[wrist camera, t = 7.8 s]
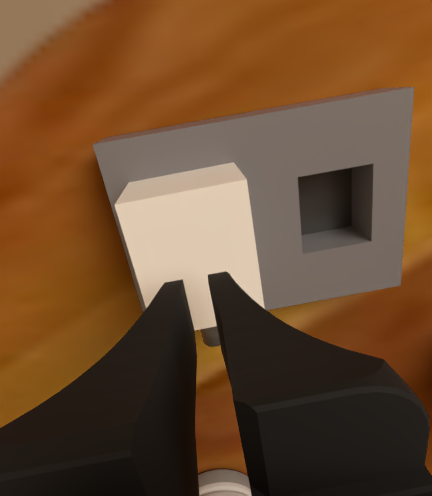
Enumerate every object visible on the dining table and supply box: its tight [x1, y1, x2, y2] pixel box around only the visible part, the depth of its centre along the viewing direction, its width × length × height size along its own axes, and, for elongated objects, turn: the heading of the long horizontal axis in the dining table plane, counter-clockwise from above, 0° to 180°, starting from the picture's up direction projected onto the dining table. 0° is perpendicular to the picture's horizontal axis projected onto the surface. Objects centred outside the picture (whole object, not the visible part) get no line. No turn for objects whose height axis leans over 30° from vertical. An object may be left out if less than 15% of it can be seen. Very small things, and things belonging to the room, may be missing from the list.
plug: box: [115, 162, 265, 347], centre depth 16 cm, size 8×5×6 cm, turn 10°
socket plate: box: [93, 87, 414, 312], centre depth 18 cm, size 10×14×2 cm
